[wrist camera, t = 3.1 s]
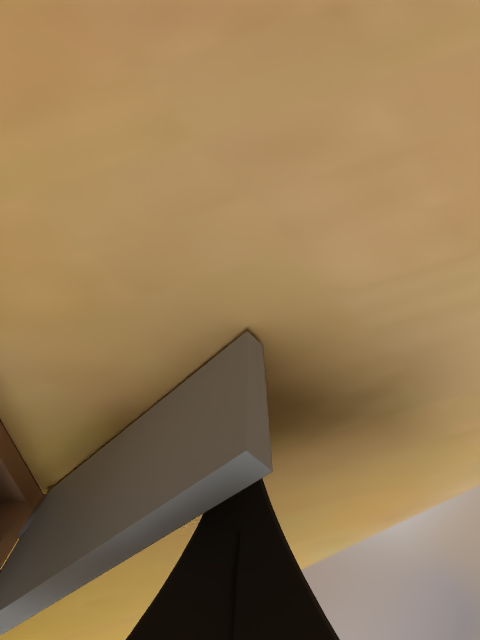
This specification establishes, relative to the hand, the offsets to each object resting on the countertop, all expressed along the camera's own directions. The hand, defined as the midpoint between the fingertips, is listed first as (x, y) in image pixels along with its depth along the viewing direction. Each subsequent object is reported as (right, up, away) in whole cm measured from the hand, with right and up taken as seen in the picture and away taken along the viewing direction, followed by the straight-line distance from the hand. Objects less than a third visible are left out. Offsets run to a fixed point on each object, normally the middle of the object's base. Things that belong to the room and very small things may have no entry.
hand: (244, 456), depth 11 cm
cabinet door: (-4, 0, +2) cm, 5 cm away
